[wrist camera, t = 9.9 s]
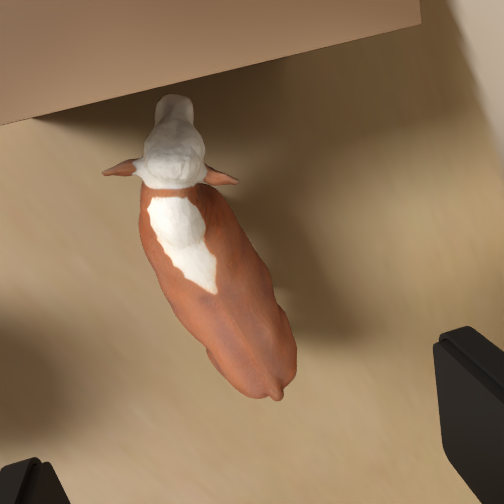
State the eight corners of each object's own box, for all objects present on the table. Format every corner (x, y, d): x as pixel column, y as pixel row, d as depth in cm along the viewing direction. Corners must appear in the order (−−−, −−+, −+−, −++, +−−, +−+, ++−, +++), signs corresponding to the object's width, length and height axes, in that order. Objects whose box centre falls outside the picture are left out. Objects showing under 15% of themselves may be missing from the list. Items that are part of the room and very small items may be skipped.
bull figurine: (190, 82, 22) (206, 80, 14) (282, 321, 27) (329, 414, 19) (101, 117, 22) (68, 133, 14) (209, 351, 26) (228, 458, 19)
